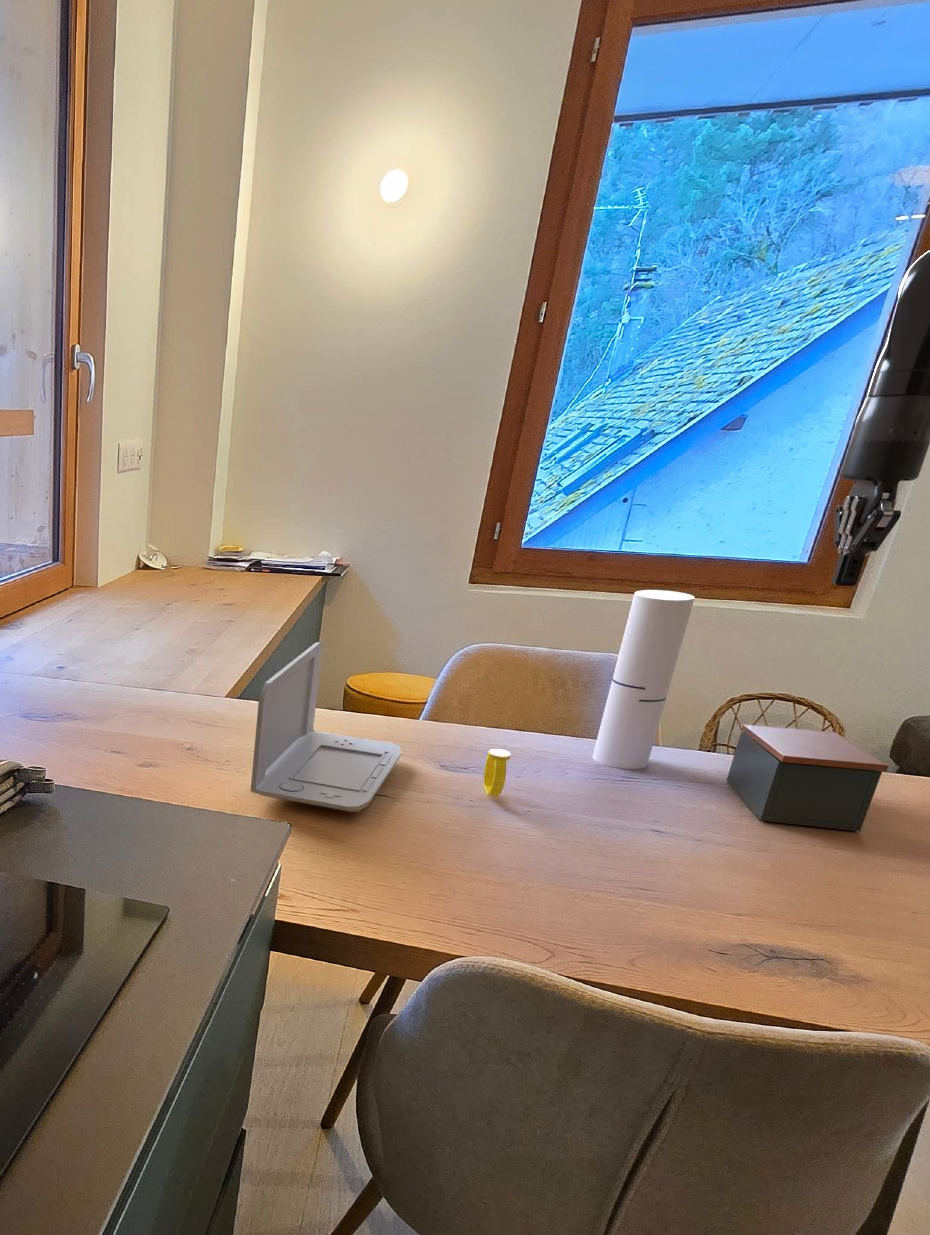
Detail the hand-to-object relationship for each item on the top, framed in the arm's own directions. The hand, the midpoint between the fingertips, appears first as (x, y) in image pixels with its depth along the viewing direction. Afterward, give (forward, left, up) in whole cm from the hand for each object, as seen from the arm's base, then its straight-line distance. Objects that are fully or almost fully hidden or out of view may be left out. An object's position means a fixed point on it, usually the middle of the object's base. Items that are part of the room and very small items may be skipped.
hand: (842, 585), depth 122 cm
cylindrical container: (+18, -5, -28) cm, 34 cm away
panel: (0, +7, -20) cm, 21 cm away
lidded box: (0, +7, -28) cm, 29 cm away
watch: (+37, +16, -28) cm, 49 cm away
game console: (+58, +17, -27) cm, 67 cm away
